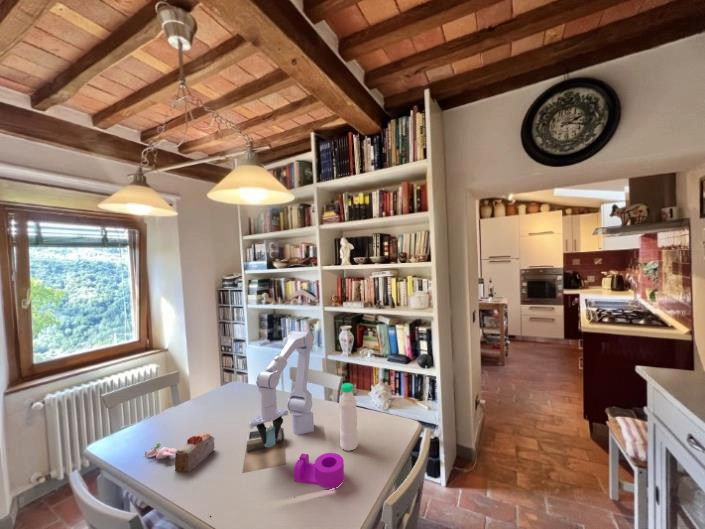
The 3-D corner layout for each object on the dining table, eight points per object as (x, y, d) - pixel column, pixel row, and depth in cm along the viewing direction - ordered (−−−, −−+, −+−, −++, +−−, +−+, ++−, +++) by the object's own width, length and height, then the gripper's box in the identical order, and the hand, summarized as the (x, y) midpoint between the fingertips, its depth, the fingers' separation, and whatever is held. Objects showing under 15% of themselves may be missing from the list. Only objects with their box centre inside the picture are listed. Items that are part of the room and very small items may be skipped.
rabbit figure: (141, 462, 115) (168, 464, 110) (138, 447, 115) (166, 448, 110) (156, 452, 121) (183, 453, 116) (154, 438, 121) (180, 438, 116)
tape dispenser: (347, 471, 105) (346, 454, 105) (340, 493, 95) (339, 474, 95) (304, 466, 108) (304, 449, 108) (293, 487, 98) (293, 468, 98)
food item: (198, 450, 119) (198, 426, 119) (216, 452, 118) (215, 427, 118) (172, 474, 106) (171, 447, 106) (191, 477, 104) (191, 449, 104)
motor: (283, 435, 125) (283, 422, 125) (284, 445, 119) (283, 431, 118) (248, 442, 122) (247, 428, 122) (246, 452, 115) (246, 438, 115)
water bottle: (360, 443, 120) (358, 382, 120) (353, 453, 114) (351, 389, 114) (345, 439, 123) (343, 380, 123) (337, 449, 117) (335, 386, 117)
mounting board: (284, 436, 127) (284, 433, 127) (285, 467, 107) (285, 464, 107) (247, 443, 123) (247, 440, 123) (242, 476, 104) (242, 472, 104)
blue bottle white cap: (275, 439, 112) (274, 422, 112) (275, 446, 109) (274, 428, 108) (264, 441, 111) (264, 424, 111) (264, 448, 108) (263, 430, 107)
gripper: (282, 394, 117) (283, 428, 118) (245, 406, 108) (246, 443, 109) (290, 400, 112) (291, 436, 112) (252, 413, 103) (253, 452, 103)
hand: (269, 440), depth 110 cm, fingers closed on blue bottle white cap, 4 cm apart
